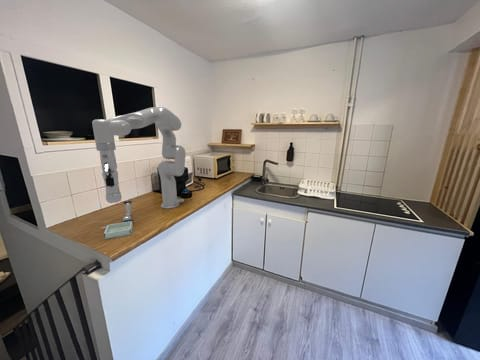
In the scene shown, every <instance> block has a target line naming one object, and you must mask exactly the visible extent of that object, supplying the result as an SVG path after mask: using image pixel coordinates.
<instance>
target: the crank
mask: <svg viewBox="0 0 480 360" xmlns="http://www.w3.org/2000/svg"><path fill="white" fill-rule="evenodd" d="M122 203H123V205H125V209H126V213H125V215H124V216H122V220H123V221H124V222H127V221H130V220H131V218H132V216H131V213H132V209H131V204H132V203H133V201H132V200H126V201H123V202H122Z"/></svg>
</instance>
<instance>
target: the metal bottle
mask: <svg viewBox="0 0 480 360" xmlns="http://www.w3.org/2000/svg"><path fill="white" fill-rule="evenodd" d="M104 170H105V169H104ZM109 171H111V170H109ZM101 174H102V175H101V176H102V178H103V181H104V186H105V200H106V202H107V203H108V204H114V203H119V202H121V201H122V194H121V192H120V186H119V172H118V170H117V169H116V170H115V171H112V176H113V178H114V184H115V185H114V186H106V180H105V172H103V171H102V173H101ZM110 174H111V173H110Z"/></svg>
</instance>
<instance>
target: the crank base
mask: <svg viewBox="0 0 480 360" xmlns="http://www.w3.org/2000/svg"><path fill="white" fill-rule="evenodd" d="M130 221H132V223H133V224H134V222H135V221H134V218H132V217H131V220H130ZM123 222H124V221H123V219H122V220H121V222H120V223H123ZM127 222H129V221H127ZM106 227H107V226H102V227H100V229H106Z"/></svg>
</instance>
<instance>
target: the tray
mask: <svg viewBox="0 0 480 360" xmlns="http://www.w3.org/2000/svg"><path fill="white" fill-rule="evenodd" d="M105 227H106V228H105V230H104V233H103V237H104V240H105V241H106V240H111V239H115V238H116V239H117V238H122V237H126V236H127V237H128V236H131V235H132V234H133V227H134V223H132V221H129V222H123V223H121V222H117V223H111V224H110V223H109V224H107V225H106V226H105Z"/></svg>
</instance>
